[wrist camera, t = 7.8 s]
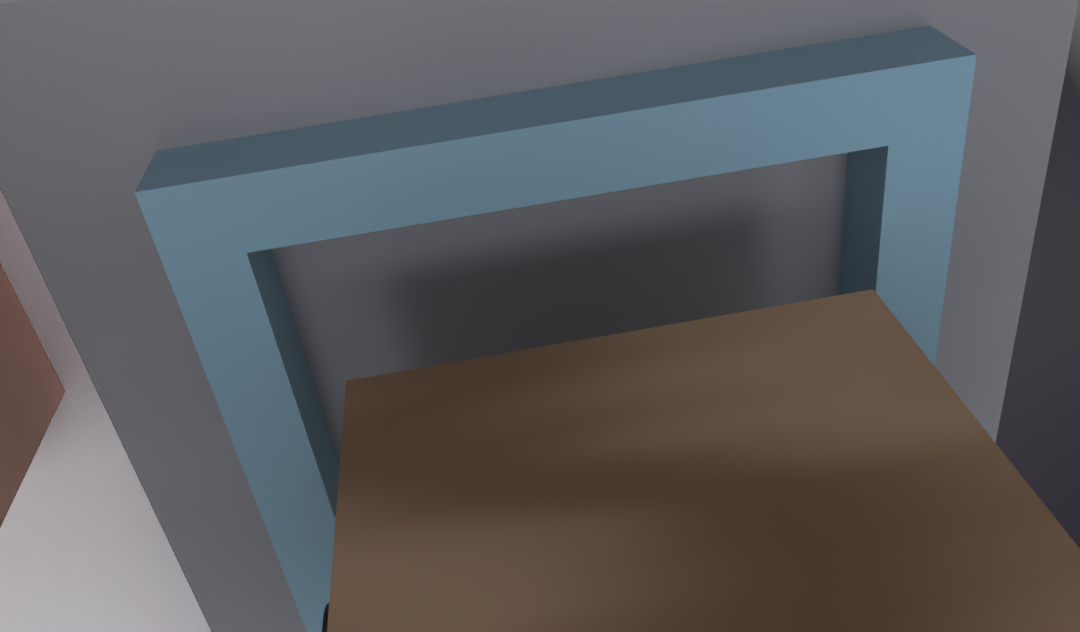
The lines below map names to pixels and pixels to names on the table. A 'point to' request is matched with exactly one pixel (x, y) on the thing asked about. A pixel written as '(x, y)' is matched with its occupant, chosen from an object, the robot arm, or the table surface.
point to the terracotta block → (21, 393)
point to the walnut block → (691, 489)
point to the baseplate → (489, 209)
